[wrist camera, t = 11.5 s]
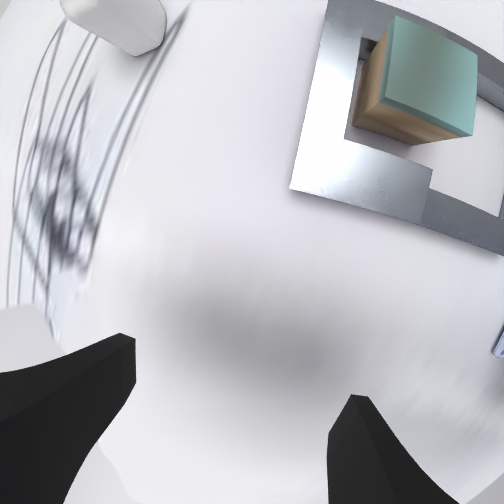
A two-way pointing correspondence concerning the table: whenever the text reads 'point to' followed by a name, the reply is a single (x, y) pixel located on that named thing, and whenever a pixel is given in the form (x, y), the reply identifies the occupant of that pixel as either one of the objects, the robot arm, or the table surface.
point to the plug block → (417, 86)
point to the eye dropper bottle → (120, 21)
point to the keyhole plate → (372, 160)
